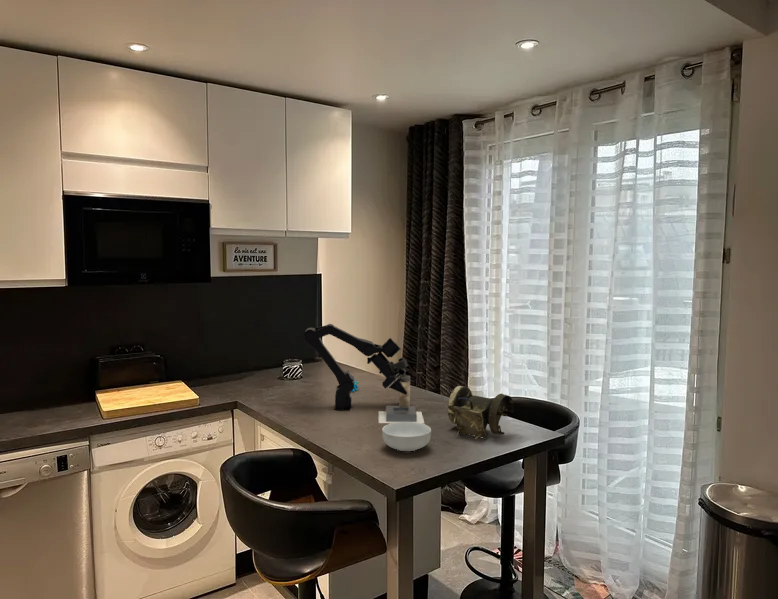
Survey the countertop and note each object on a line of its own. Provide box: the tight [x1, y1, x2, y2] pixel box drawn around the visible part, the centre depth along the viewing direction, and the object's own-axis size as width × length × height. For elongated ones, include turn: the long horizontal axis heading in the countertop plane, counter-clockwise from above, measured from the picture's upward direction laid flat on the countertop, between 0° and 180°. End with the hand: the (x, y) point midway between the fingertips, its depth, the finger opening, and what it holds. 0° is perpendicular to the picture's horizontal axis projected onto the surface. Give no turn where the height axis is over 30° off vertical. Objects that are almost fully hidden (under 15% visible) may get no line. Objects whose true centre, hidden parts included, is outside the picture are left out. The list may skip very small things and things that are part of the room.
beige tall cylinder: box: [398, 374, 411, 406], centre depth 235 cm, size 4×4×15 cm
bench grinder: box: [447, 385, 515, 440], centre depth 206 cm, size 20×22×20 cm
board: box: [378, 410, 426, 425], centre depth 225 cm, size 18×16×1 cm
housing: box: [385, 405, 417, 422], centre depth 224 cm, size 12×12×3 cm
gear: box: [351, 378, 360, 393], centre depth 269 cm, size 11×6×10 cm
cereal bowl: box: [381, 422, 432, 452], centre depth 190 cm, size 17×17×7 cm
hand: (407, 392), depth 234 cm, fingers closed on beige tall cylinder, 4 cm apart
